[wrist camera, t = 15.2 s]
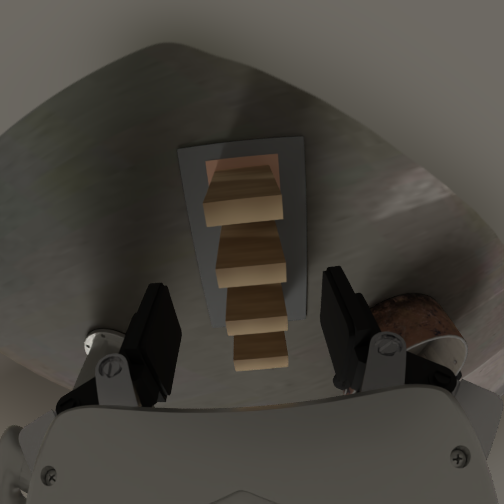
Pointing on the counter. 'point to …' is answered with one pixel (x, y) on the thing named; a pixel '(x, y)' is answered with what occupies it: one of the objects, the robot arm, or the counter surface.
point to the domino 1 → (242, 196)
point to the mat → (289, 228)
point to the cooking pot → (420, 331)
